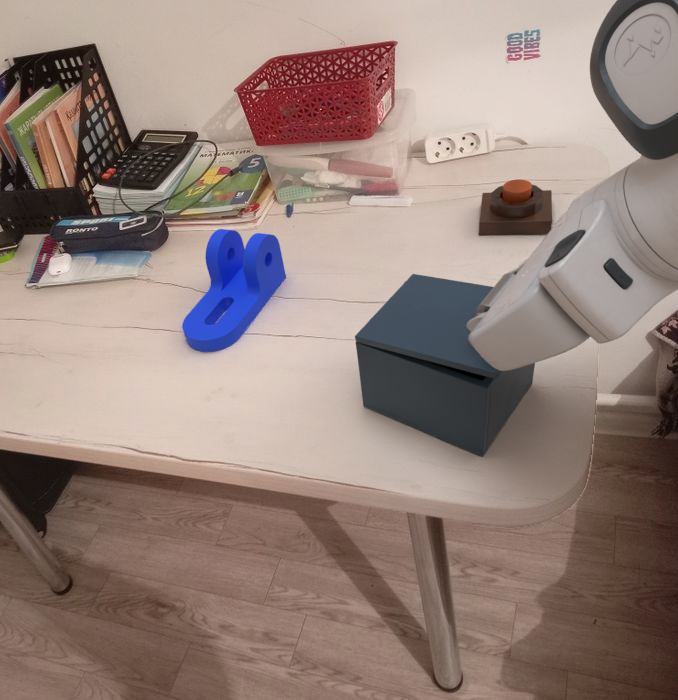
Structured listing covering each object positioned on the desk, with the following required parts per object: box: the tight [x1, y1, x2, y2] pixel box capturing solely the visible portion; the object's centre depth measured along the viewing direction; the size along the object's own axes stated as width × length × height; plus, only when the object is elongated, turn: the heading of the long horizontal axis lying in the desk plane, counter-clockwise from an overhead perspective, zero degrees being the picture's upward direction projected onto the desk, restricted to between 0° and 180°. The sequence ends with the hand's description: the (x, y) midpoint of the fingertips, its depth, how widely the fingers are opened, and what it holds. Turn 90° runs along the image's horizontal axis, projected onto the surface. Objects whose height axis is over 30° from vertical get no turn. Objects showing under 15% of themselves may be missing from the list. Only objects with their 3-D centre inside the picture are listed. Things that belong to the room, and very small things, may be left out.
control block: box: [478, 184, 553, 236], centre depth 87 cm, size 9×8×4 cm
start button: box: [502, 179, 533, 203], centre depth 86 cm, size 4×4×2 cm
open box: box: [355, 341, 536, 458], centre depth 65 cm, size 14×12×10 cm
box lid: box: [354, 272, 515, 379], centre depth 59 cm, size 14×12×5 cm
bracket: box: [181, 228, 287, 353], centre depth 86 cm, size 18×8×9 cm, turn 147°
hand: (490, 306), depth 56 cm, fingers closed on box lid, 5 cm apart
